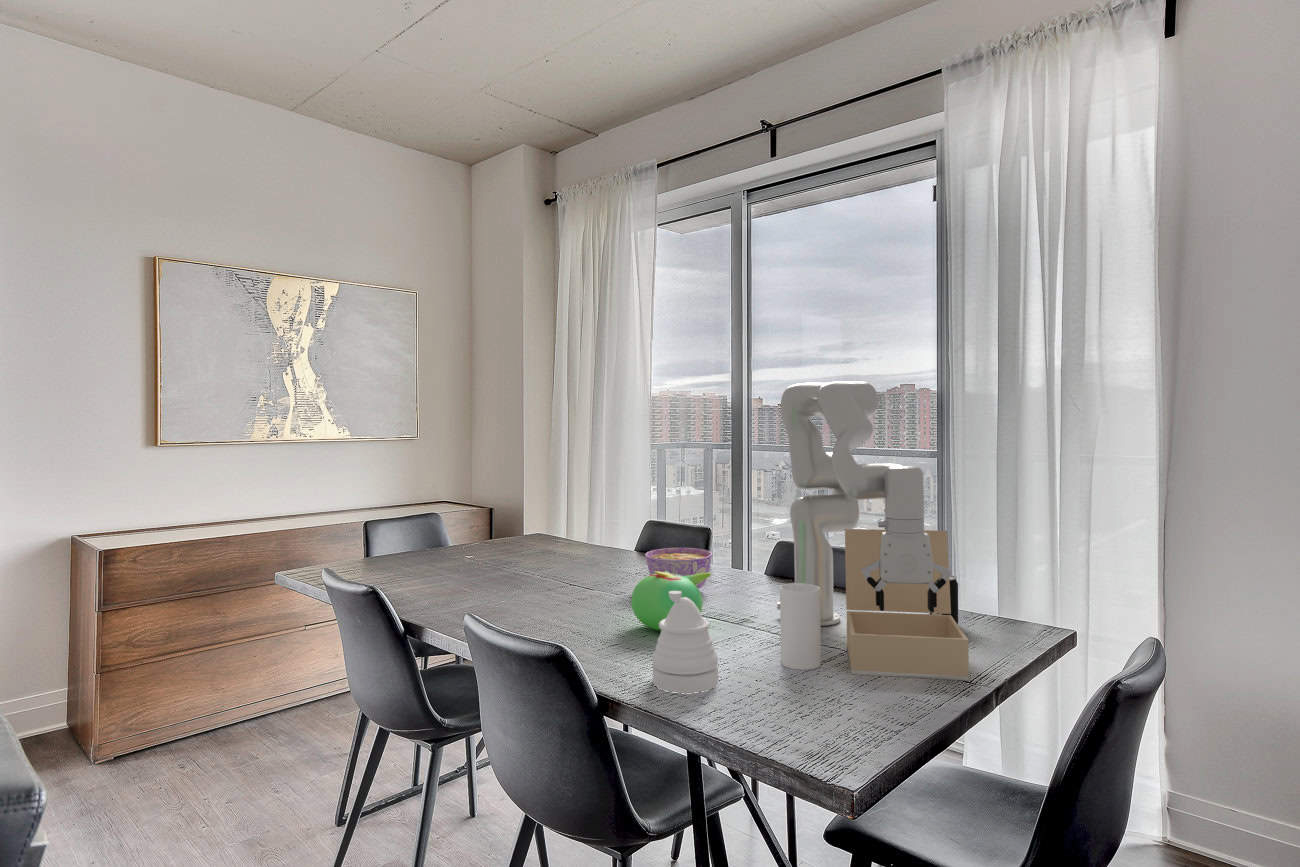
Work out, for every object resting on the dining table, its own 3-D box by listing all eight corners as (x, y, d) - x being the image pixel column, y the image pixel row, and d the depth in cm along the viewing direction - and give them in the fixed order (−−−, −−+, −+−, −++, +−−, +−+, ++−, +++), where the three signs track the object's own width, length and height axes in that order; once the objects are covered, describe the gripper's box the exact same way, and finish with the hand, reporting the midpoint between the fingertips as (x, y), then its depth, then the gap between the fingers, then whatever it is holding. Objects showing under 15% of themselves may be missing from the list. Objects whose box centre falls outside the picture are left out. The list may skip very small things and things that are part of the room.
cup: (812, 672, 149) (812, 593, 149) (774, 665, 154) (773, 589, 153) (826, 660, 156) (825, 585, 156) (789, 654, 161) (788, 581, 160)
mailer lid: (844, 525, 169) (844, 525, 170) (846, 609, 165) (846, 609, 166) (946, 526, 164) (946, 526, 165) (950, 613, 161) (950, 613, 161)
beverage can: (960, 629, 177) (960, 580, 177) (931, 628, 178) (931, 579, 178) (955, 622, 184) (954, 574, 183) (927, 621, 185) (927, 573, 185)
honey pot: (669, 699, 136) (668, 602, 136) (642, 677, 148) (641, 587, 148) (730, 687, 142) (729, 594, 141) (699, 667, 153) (698, 581, 153)
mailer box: (851, 674, 148) (851, 634, 148) (846, 646, 166) (846, 611, 165) (968, 680, 143) (968, 639, 143) (951, 651, 161) (951, 615, 161)
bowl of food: (715, 600, 209) (714, 559, 209) (644, 601, 209) (644, 560, 209) (710, 584, 229) (710, 547, 229) (646, 585, 229) (645, 548, 229)
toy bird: (618, 630, 181) (617, 570, 181) (664, 615, 194) (663, 560, 193) (673, 644, 169) (672, 580, 169) (718, 628, 181) (718, 568, 181)
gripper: (862, 528, 149) (863, 613, 149) (953, 529, 146) (954, 616, 146) (859, 523, 156) (860, 604, 156) (945, 524, 153) (947, 606, 153)
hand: (906, 610), depth 151 cm, fingers open, 9 cm apart
